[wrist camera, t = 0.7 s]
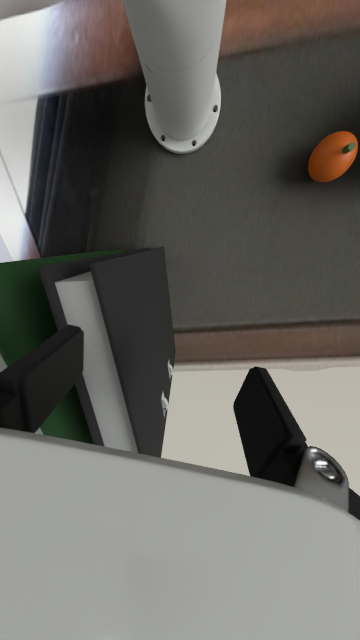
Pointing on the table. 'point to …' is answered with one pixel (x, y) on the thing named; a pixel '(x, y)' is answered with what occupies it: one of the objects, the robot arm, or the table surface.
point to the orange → (332, 156)
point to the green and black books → (98, 341)
